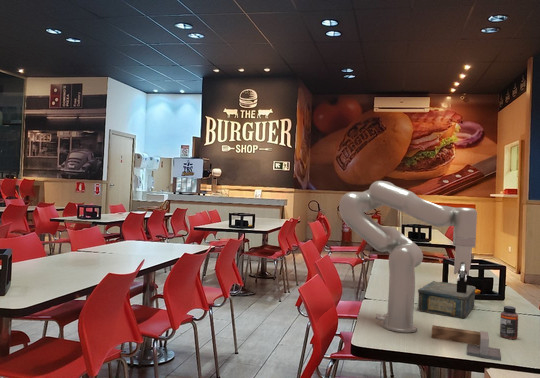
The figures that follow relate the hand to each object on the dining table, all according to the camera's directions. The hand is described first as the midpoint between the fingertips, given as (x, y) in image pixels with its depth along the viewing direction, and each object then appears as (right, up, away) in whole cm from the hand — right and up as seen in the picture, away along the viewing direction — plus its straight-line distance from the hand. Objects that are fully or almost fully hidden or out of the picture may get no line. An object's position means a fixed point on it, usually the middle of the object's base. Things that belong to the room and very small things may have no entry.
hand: (461, 290), depth 174 cm
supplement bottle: (+21, -19, +8) cm, 29 cm away
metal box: (+13, -20, +51) cm, 56 cm away
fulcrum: (+2, -18, -13) cm, 22 cm away
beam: (-1, -18, 0) cm, 18 cm away
